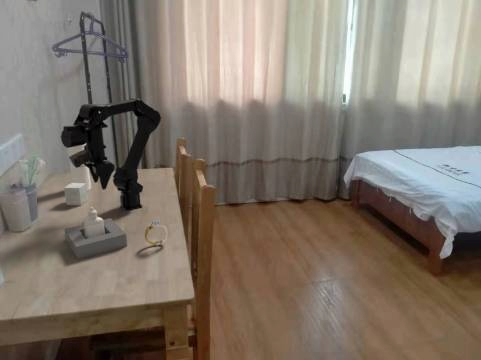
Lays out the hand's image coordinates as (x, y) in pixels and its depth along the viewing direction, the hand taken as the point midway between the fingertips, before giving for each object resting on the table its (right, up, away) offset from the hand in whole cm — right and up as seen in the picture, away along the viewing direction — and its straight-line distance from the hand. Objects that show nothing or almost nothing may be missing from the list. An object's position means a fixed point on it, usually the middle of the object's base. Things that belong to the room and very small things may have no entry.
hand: (99, 185), depth 137 cm
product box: (-15, -7, +17) cm, 24 cm away
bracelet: (+24, -18, -16) cm, 34 cm away
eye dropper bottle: (+4, -18, -15) cm, 24 cm away
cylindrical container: (-19, -2, +33) cm, 38 cm away
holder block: (+4, -18, -15) cm, 24 cm away
